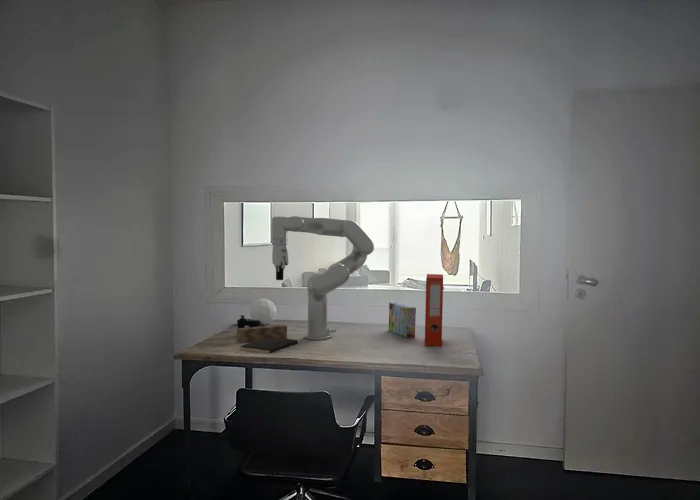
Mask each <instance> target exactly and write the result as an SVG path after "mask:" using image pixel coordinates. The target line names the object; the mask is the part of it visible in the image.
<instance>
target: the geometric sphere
mask: <svg viewBox="0 0 700 500" xmlns="http://www.w3.org/2000/svg"><path fill="white" fill-rule="evenodd" d="M249 316H250V318H251V320H260V322H261V325H262V324H263V326H267V325H268V324H270V323H272V322H273V321H274V319H275V318H276V316H277V307H276V306H275V303H274V302H273V301H271V300H270V299H268V298H258V299H256V300H255V301H253V302H252V304H251V306H250V307H249Z"/></svg>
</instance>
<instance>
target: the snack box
mask: <svg viewBox="0 0 700 500" xmlns="http://www.w3.org/2000/svg"><path fill="white" fill-rule="evenodd" d="M388 304H389V305H388V331H390V332H393V333H395V334H398V335H400V336H402V337H404V338H415V337H416V313H417V312H416V311H417V308H416V307H415V306H411V305H408V304H405V303H402V302H398V301H397V302H396V301H395V302H394V301H392V302H389V303H388Z"/></svg>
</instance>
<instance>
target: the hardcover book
mask: <svg viewBox="0 0 700 500" xmlns="http://www.w3.org/2000/svg"><path fill="white" fill-rule="evenodd" d="M298 343H299V341H298V340H297V339H294V338H293V339H292V338H291V339H290V338H276V337H267V338H264V339H261V340H258V341H252V342H247V344H246V343H245V344H242V345H239V346H240V350H241V351H246V350H249V351H248V352H254V351H255V353H261V352H264V353H263V354H269V353H271V354H274V353H276V352H278V350H279V351H281V350H280V349H282V350H284V349H287V348H290V347H292V346H291V345H293V346H295V344H296V345H297V344H298ZM289 346H290V347H289ZM286 347H287V348H286ZM283 348H284V349H283ZM275 351H276V352H275Z"/></svg>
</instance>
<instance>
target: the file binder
mask: <svg viewBox="0 0 700 500" xmlns="http://www.w3.org/2000/svg"><path fill="white" fill-rule="evenodd" d="M425 279H426V281H425V310H424V311H425V315H424V316H425V317H424V320H425V321H424V323H425V324H424V346H425V347H435V346H437V348H439V347H440V348H441V347H443V346H442V344H443V341H442V339H443V306H444V305H443V302H444V297H443V296H444V274H441V273H440V274H439V273H438V274H435V273H427V274H426V278H425Z"/></svg>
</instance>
